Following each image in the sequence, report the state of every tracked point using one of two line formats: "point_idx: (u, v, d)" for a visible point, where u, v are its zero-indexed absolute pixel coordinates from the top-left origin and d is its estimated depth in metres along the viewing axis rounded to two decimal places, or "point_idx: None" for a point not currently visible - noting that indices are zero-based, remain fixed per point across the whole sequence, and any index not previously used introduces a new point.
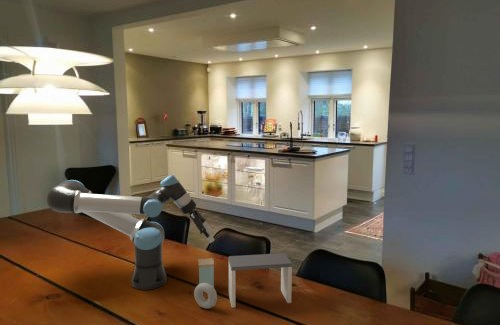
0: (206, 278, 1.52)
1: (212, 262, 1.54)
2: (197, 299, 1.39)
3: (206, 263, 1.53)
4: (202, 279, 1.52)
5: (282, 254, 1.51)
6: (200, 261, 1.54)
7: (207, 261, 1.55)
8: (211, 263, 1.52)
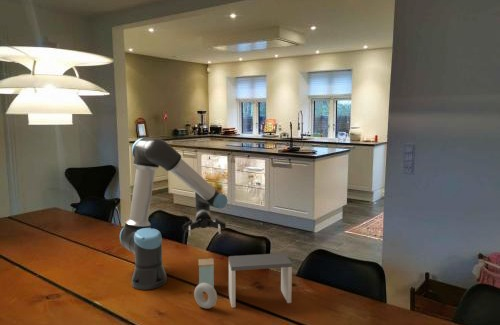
0: (206, 278, 1.52)
1: (212, 262, 1.54)
2: (197, 299, 1.39)
3: (206, 263, 1.53)
4: (202, 279, 1.52)
5: (282, 254, 1.51)
6: (200, 261, 1.54)
7: (207, 261, 1.55)
8: (211, 263, 1.52)
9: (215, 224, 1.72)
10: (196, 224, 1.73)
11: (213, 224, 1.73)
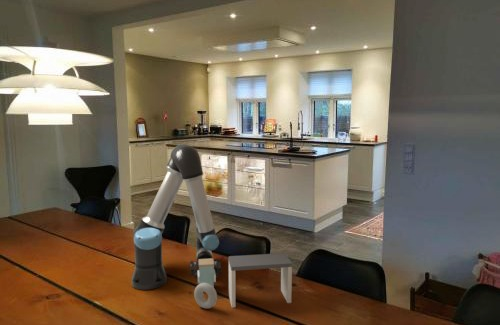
0: (206, 278, 1.52)
1: (212, 262, 1.54)
2: (197, 299, 1.39)
3: (206, 263, 1.53)
4: (202, 279, 1.52)
5: (282, 254, 1.51)
6: (200, 261, 1.54)
7: (207, 261, 1.55)
8: (211, 263, 1.52)
9: None
10: None
11: None
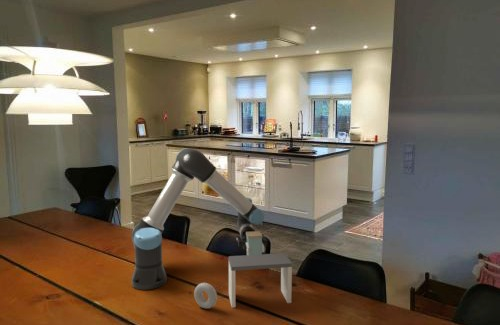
0: (254, 249, 1.61)
1: (260, 234, 1.62)
2: (197, 299, 1.39)
3: (254, 235, 1.61)
4: (251, 250, 1.61)
5: (282, 254, 1.51)
6: (248, 233, 1.63)
7: (255, 233, 1.63)
8: (259, 235, 1.61)
9: None
10: None
11: None
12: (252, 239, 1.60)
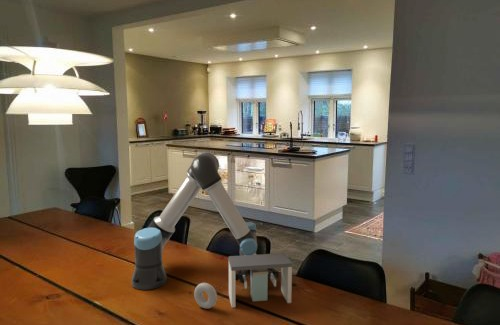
0: (259, 286, 1.45)
1: (266, 269, 1.46)
2: (197, 299, 1.39)
3: (259, 270, 1.45)
4: (256, 287, 1.45)
5: (282, 254, 1.51)
6: None
7: None
8: (265, 271, 1.45)
9: None
10: (248, 271, 1.55)
11: None
12: (257, 276, 1.44)
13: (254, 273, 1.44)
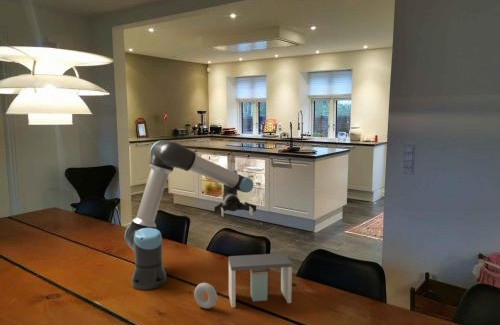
0: (259, 286, 1.45)
1: (266, 269, 1.46)
2: (197, 299, 1.39)
3: (259, 270, 1.45)
4: (256, 287, 1.45)
5: (282, 254, 1.51)
6: None
7: None
8: (265, 271, 1.45)
9: (246, 206, 1.75)
10: (227, 206, 1.75)
11: (244, 207, 1.76)
12: (257, 276, 1.44)
13: (254, 273, 1.44)
